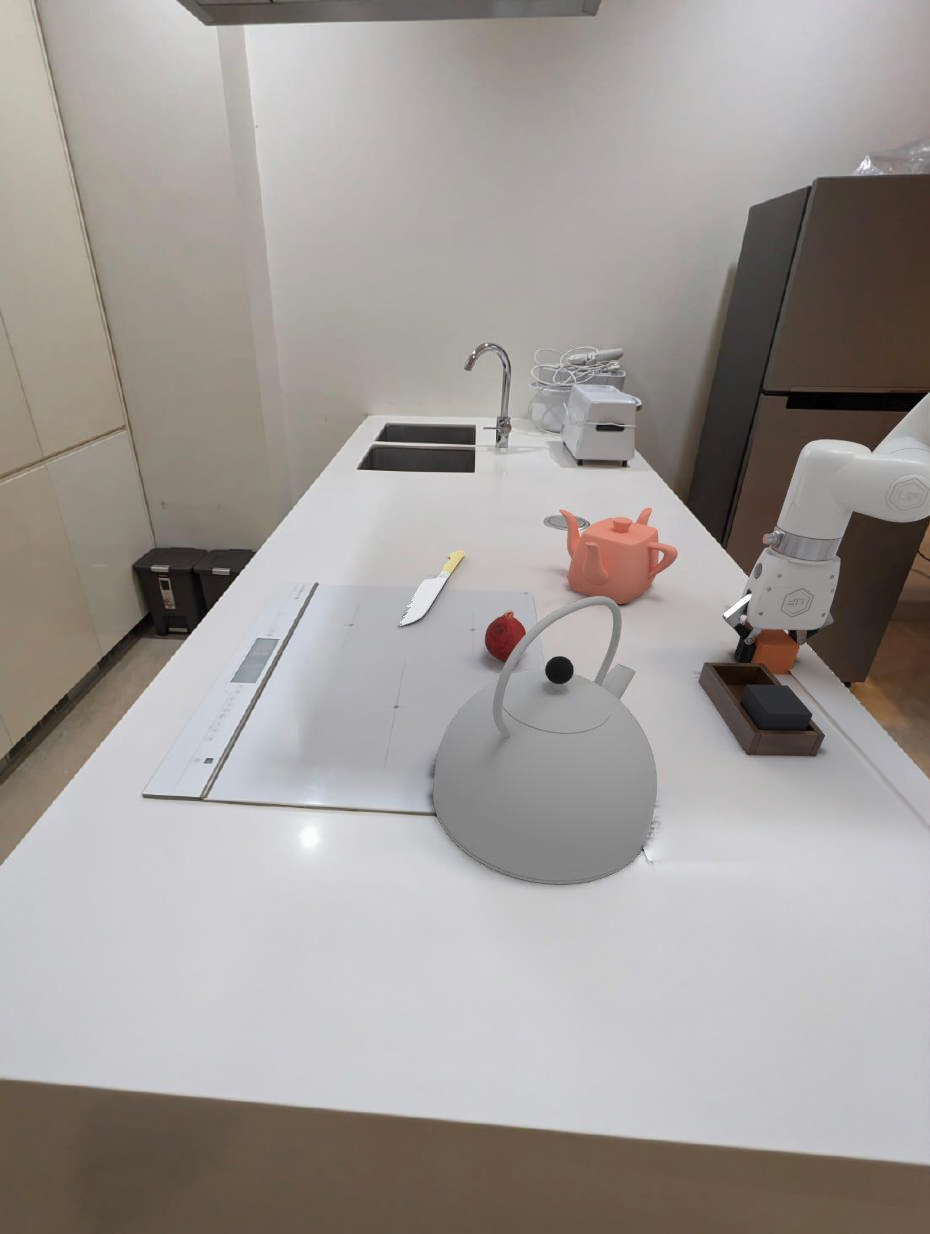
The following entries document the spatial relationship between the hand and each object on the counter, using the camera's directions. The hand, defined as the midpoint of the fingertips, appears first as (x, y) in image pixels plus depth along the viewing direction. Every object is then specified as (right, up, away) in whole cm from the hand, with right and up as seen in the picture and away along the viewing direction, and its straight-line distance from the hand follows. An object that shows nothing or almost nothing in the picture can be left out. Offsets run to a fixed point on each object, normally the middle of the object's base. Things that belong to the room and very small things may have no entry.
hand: (761, 663), depth 90 cm
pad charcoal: (-7, -9, -14) cm, 18 cm away
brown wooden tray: (-7, -7, -11) cm, 15 cm away
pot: (-16, +14, +23) cm, 31 cm away
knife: (-47, +14, +21) cm, 53 cm away
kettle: (-35, -14, -23) cm, 44 cm away
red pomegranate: (-37, 0, 0) cm, 37 cm away
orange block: (0, 0, 0) cm, 0 cm away
